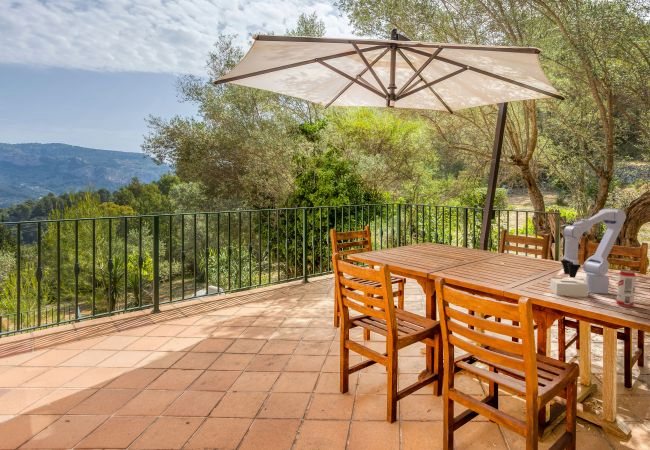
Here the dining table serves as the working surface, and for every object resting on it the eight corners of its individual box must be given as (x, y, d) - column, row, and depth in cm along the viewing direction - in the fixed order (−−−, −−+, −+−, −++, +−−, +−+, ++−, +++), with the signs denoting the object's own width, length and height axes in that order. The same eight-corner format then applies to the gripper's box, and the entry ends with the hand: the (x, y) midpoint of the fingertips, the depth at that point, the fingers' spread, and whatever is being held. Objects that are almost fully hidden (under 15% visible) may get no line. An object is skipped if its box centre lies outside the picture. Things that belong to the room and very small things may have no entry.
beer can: (618, 306, 177) (621, 272, 175) (614, 302, 183) (617, 269, 181) (635, 308, 175) (638, 273, 173) (630, 304, 181) (633, 270, 179)
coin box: (579, 291, 202) (580, 280, 201) (587, 296, 192) (588, 285, 191) (550, 289, 205) (550, 278, 204) (556, 295, 195) (557, 283, 195)
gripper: (557, 246, 204) (556, 272, 205) (567, 251, 190) (565, 278, 191) (572, 247, 202) (571, 272, 204) (583, 252, 188) (582, 279, 190)
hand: (569, 275), depth 198 cm, fingers open, 7 cm apart
